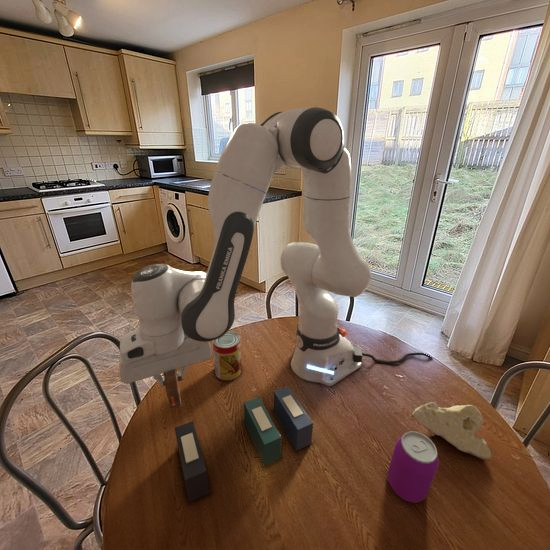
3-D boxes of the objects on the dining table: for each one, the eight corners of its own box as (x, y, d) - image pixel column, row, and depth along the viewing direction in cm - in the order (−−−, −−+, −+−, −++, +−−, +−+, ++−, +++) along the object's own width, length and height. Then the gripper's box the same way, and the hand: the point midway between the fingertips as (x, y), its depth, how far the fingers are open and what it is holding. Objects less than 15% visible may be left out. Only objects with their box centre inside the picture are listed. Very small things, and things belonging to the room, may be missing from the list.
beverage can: (406, 512, 56) (420, 473, 51) (378, 474, 62) (388, 435, 57) (435, 495, 59) (451, 456, 54) (405, 460, 65) (417, 422, 60)
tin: (182, 414, 66) (180, 386, 63) (167, 417, 65) (164, 389, 62) (176, 369, 79) (174, 344, 76) (164, 372, 78) (161, 346, 74)
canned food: (246, 373, 88) (245, 341, 83) (222, 384, 84) (219, 351, 79) (234, 358, 94) (232, 327, 89) (211, 368, 90) (208, 336, 85)
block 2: (259, 416, 74) (259, 395, 71) (280, 458, 65) (281, 436, 62) (244, 422, 73) (243, 401, 70) (264, 466, 63) (264, 444, 60)
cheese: (486, 443, 71) (448, 383, 76) (508, 448, 64) (466, 382, 69) (434, 473, 69) (399, 409, 74) (451, 483, 62) (411, 412, 67)
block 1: (196, 441, 68) (193, 420, 65) (209, 492, 58) (206, 469, 55) (178, 448, 66) (174, 426, 63) (188, 502, 57) (184, 479, 54)
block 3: (286, 405, 78) (287, 385, 75) (311, 444, 68) (313, 422, 65) (273, 411, 76) (273, 390, 73) (296, 451, 66) (297, 429, 63)
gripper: (206, 316, 72) (211, 360, 78) (112, 339, 63) (126, 386, 69) (212, 330, 66) (217, 376, 72) (112, 357, 58) (127, 406, 64)
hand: (172, 381), depth 71 cm, fingers closed on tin, 2 cm apart
